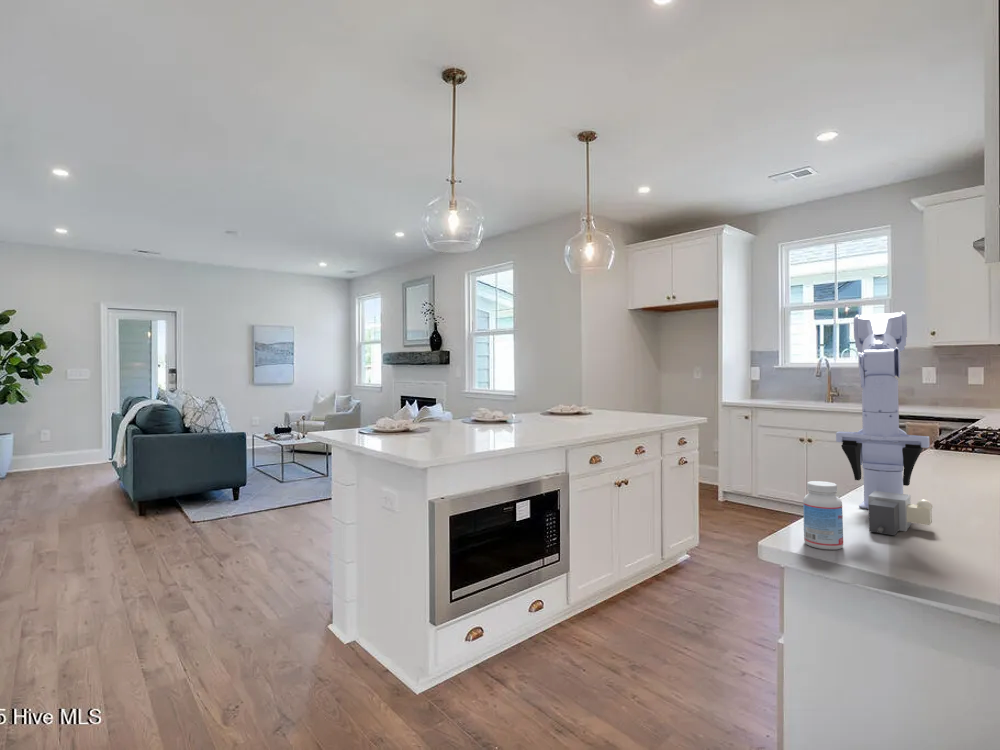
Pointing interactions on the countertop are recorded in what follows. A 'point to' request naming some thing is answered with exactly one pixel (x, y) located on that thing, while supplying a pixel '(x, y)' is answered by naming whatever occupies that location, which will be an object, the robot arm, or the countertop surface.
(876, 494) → the socket cube
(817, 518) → the pill bottle
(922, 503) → the night light
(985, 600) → the countertop surface
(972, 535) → the countertop surface
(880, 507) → the block
